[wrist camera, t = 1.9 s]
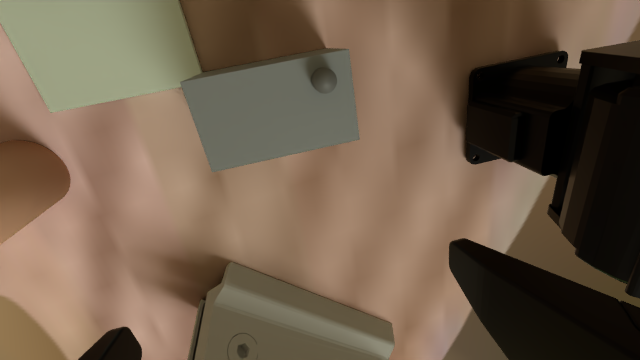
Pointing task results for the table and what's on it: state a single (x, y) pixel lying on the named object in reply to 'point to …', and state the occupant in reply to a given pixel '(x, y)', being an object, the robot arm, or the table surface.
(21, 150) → the terracotta cylinder
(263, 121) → the unit
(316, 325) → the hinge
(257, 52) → the table surface
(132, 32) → the pad
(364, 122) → the table surface
